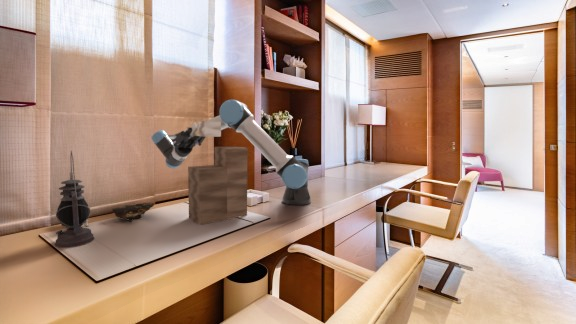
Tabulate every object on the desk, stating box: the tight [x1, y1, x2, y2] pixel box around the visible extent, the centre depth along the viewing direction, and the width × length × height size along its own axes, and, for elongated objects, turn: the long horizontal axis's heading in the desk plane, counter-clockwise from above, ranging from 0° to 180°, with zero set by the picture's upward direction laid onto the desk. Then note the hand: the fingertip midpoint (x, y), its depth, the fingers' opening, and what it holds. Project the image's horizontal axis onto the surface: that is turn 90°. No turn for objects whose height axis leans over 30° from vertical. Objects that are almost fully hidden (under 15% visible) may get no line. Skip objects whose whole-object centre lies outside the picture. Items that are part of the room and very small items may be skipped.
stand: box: [187, 146, 249, 225], centre depth 128 cm, size 11×22×30 cm, turn 132°
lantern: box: [54, 150, 95, 249], centre depth 97 cm, size 12×11×30 cm
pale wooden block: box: [186, 120, 222, 138], centre depth 126 cm, size 21×7×6 cm, turn 41°
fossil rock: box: [111, 202, 155, 221], centre depth 124 cm, size 14×14×6 cm
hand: (200, 125), depth 126 cm, fingers closed on pale wooden block, 3 cm apart
